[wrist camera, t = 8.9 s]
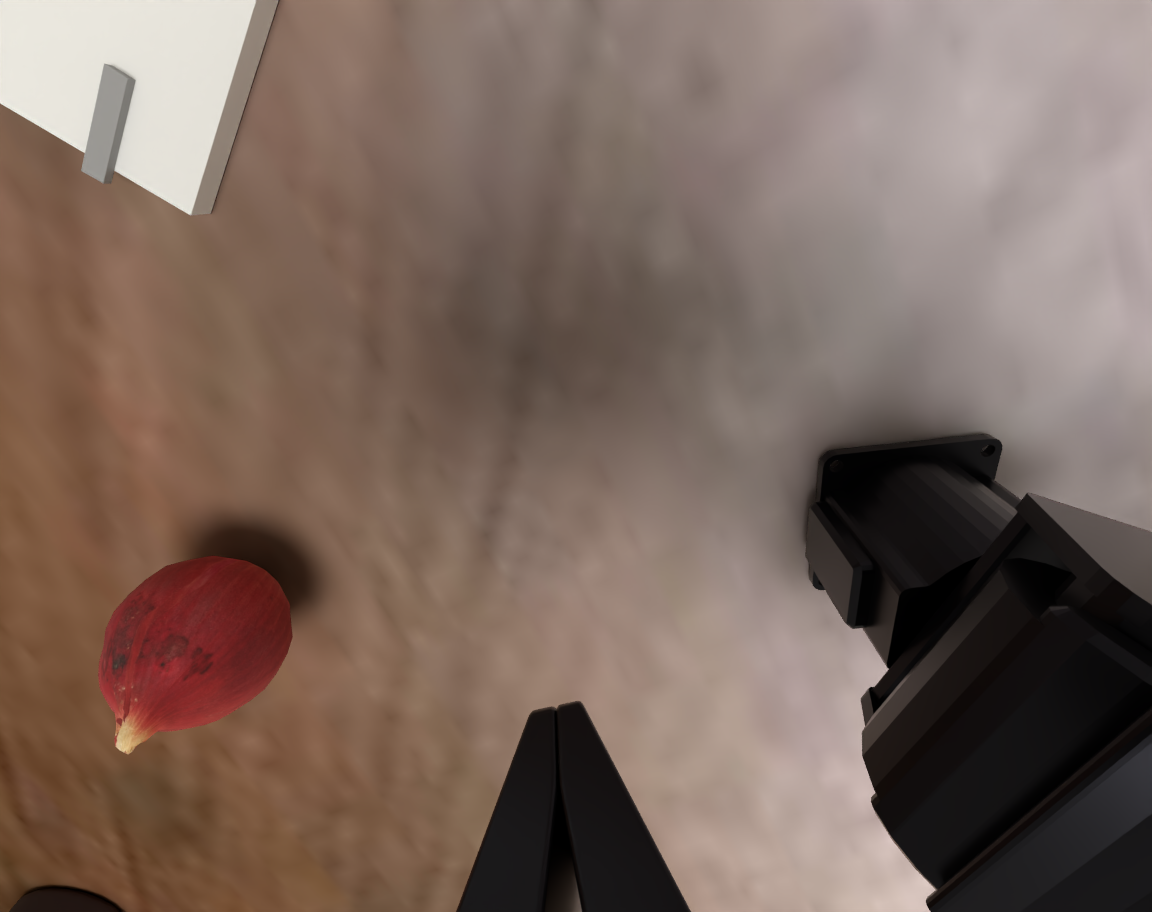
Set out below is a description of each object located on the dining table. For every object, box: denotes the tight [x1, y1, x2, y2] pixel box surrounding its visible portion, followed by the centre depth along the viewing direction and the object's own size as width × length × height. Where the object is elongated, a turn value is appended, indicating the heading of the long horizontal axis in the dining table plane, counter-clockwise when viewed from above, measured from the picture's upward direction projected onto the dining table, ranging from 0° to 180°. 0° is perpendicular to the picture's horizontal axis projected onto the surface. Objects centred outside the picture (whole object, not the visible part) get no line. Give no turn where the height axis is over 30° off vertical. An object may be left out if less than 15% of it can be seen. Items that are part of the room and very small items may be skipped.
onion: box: [98, 556, 292, 754], centre depth 20 cm, size 6×6×8 cm
